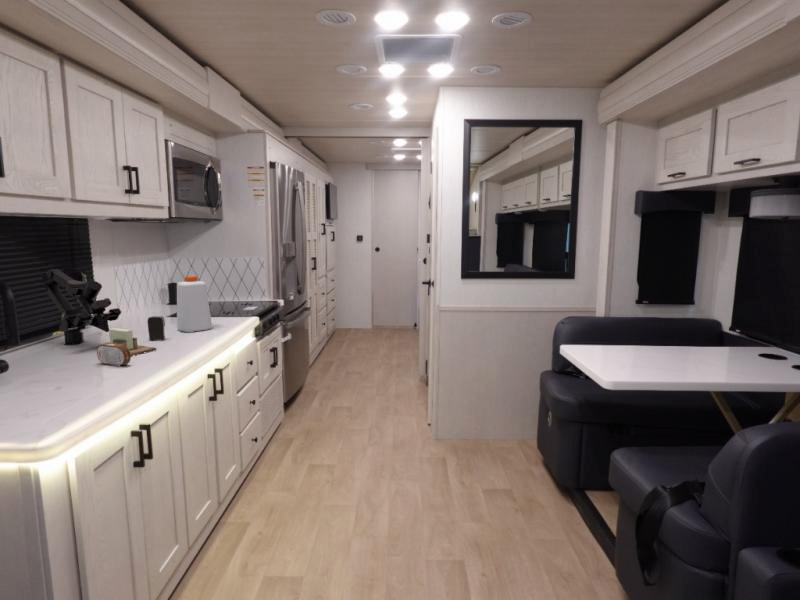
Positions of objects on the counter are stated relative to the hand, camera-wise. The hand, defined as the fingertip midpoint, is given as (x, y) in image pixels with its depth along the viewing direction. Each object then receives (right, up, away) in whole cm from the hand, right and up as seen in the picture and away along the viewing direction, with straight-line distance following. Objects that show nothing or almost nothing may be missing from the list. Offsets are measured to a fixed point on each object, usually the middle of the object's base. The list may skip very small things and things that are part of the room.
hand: (107, 331), depth 212 cm
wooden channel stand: (+12, -9, -5) cm, 15 cm away
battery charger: (+13, -5, +18) cm, 23 cm away
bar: (+8, -7, -3) cm, 11 cm away
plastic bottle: (+20, -2, +42) cm, 47 cm away
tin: (+17, -12, -24) cm, 32 cm away
